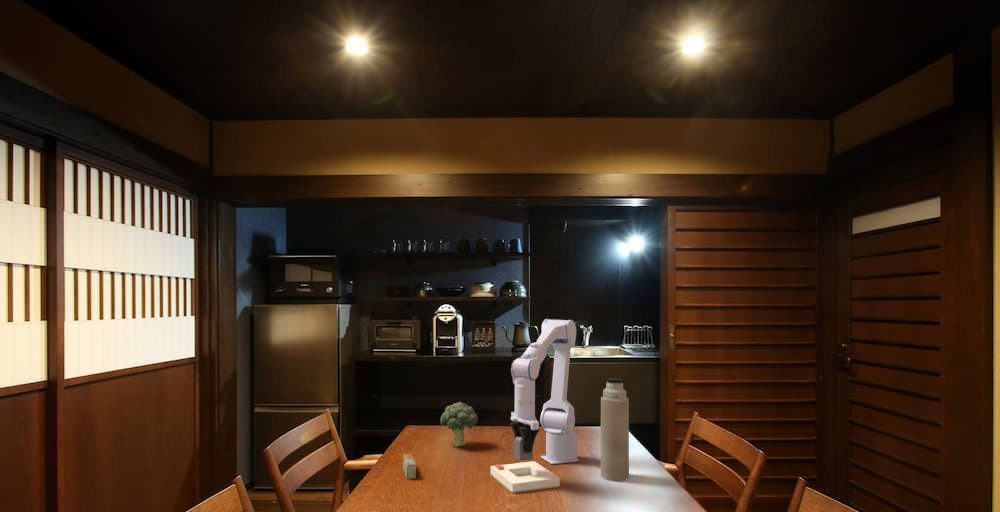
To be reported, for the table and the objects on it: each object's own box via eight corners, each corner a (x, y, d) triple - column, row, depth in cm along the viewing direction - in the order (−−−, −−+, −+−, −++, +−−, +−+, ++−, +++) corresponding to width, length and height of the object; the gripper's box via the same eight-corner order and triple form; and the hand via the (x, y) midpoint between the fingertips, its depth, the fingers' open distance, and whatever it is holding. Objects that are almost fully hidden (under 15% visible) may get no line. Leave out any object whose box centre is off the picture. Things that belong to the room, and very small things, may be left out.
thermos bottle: (603, 471, 168) (603, 375, 170) (630, 474, 165) (630, 377, 167) (598, 479, 160) (598, 379, 162) (627, 482, 158) (627, 381, 160)
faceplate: (534, 469, 169) (534, 459, 169) (559, 486, 154) (559, 475, 154) (490, 474, 163) (490, 464, 164) (512, 493, 149) (512, 481, 149)
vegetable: (434, 444, 195) (435, 400, 195) (465, 439, 202) (466, 396, 203) (452, 453, 185) (453, 406, 186) (484, 447, 192) (485, 402, 193)
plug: (526, 455, 162) (526, 435, 162) (532, 459, 158) (532, 438, 158) (513, 456, 160) (513, 436, 160) (519, 460, 156) (519, 440, 157)
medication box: (416, 479, 159) (416, 464, 160) (406, 480, 159) (407, 465, 159) (411, 466, 171) (411, 453, 171) (402, 467, 170) (402, 453, 170)
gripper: (501, 397, 165) (501, 444, 164) (522, 407, 152) (522, 458, 151) (523, 396, 168) (523, 442, 167) (546, 405, 154) (545, 456, 154)
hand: (524, 450), depth 159 cm, fingers closed on plug, 4 cm apart
